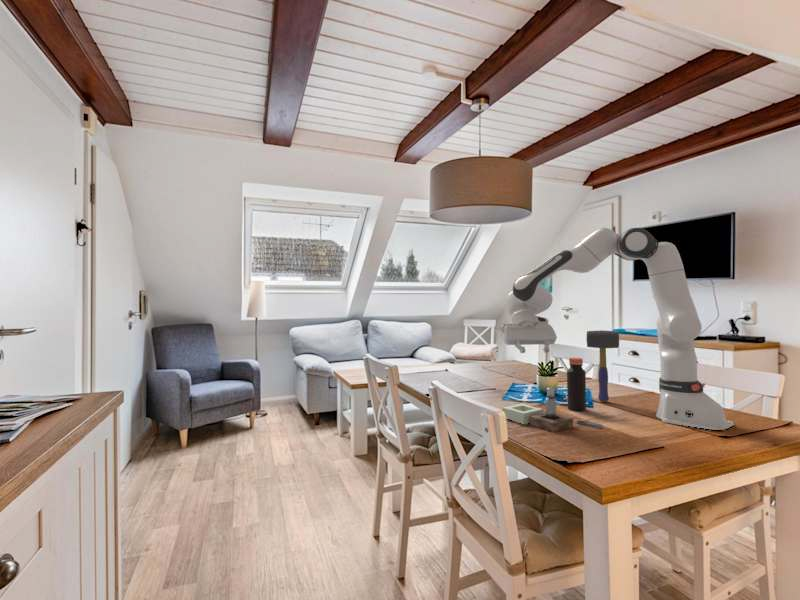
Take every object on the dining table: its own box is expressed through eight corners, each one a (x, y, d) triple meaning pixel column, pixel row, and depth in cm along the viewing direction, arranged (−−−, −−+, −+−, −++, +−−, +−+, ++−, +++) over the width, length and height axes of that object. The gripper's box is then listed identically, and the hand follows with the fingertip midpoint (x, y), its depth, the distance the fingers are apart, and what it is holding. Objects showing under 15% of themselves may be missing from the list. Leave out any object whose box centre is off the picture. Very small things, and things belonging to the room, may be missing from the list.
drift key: (602, 428, 145) (602, 424, 145) (600, 429, 144) (600, 426, 144) (579, 423, 151) (579, 420, 151) (576, 425, 150) (576, 421, 150)
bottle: (582, 406, 172) (582, 357, 172) (588, 411, 165) (587, 359, 165) (565, 406, 173) (564, 357, 173) (570, 411, 166) (569, 359, 166)
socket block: (573, 426, 146) (572, 418, 146) (553, 432, 141) (553, 422, 141) (549, 420, 155) (549, 411, 155) (529, 424, 150) (529, 416, 150)
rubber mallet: (587, 402, 179) (586, 330, 179) (587, 398, 186) (586, 329, 186) (620, 405, 174) (619, 331, 174) (619, 400, 181) (618, 329, 181)
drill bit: (558, 426, 147) (558, 388, 147) (552, 427, 146) (551, 389, 145) (550, 423, 150) (549, 386, 150) (543, 425, 148) (543, 388, 148)
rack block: (543, 420, 155) (543, 409, 155) (523, 424, 149) (523, 413, 149) (522, 414, 163) (521, 403, 163) (503, 418, 158) (502, 407, 158)
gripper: (501, 319, 168) (510, 347, 158) (551, 318, 170) (563, 346, 160) (497, 329, 172) (506, 357, 162) (546, 329, 174) (557, 356, 165)
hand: (535, 351), depth 161 cm, fingers open, 8 cm apart
